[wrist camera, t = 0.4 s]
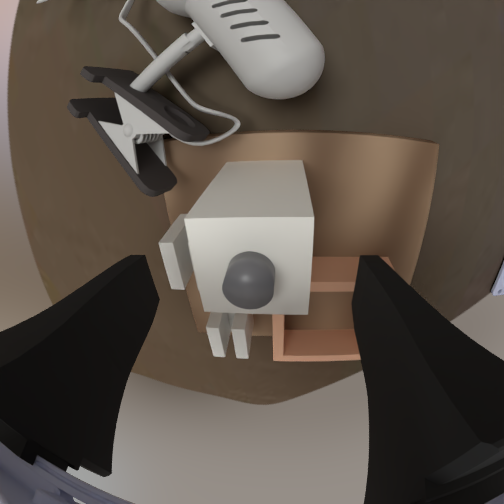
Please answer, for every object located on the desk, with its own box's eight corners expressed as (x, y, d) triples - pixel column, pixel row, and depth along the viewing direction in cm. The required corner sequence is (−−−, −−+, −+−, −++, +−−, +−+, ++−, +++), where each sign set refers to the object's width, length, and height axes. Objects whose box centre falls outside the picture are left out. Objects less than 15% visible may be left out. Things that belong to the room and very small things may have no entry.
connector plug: (302, 160, 14) (317, 233, 7) (301, 227, 16) (308, 334, 9) (226, 162, 15) (173, 234, 8) (233, 227, 17) (198, 330, 10)
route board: (431, 140, 13) (439, 144, 12) (389, 324, 21) (392, 333, 20) (162, 139, 15) (155, 143, 14) (200, 323, 23) (198, 332, 22)
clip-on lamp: (78, 18, 12) (176, 192, 16) (15, 12, 7) (98, 229, 10) (188, -82, 7) (358, 79, 10) (136, -119, 1) (368, 37, 5)
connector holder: (388, 256, 16) (399, 281, 14) (367, 334, 20) (372, 358, 18) (273, 256, 17) (271, 281, 15) (275, 335, 21) (273, 360, 19)
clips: (244, 212, 16) (233, 242, 13) (253, 322, 21) (248, 358, 18) (180, 214, 17) (158, 242, 14) (204, 320, 21) (193, 354, 18)
